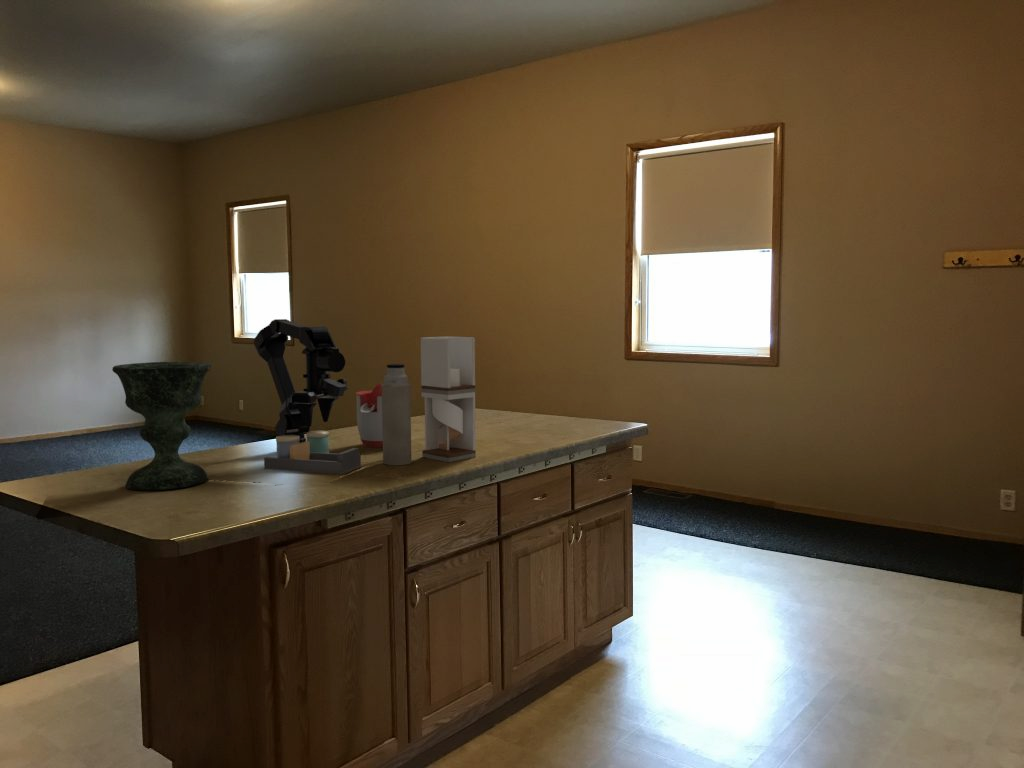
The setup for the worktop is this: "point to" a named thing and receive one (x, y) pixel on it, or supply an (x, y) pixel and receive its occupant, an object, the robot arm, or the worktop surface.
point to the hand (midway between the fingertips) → (317, 424)
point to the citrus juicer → (370, 416)
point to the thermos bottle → (396, 416)
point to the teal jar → (318, 441)
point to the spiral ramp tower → (449, 397)
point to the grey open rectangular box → (318, 462)
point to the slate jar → (286, 445)
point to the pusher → (300, 451)
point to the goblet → (164, 419)
